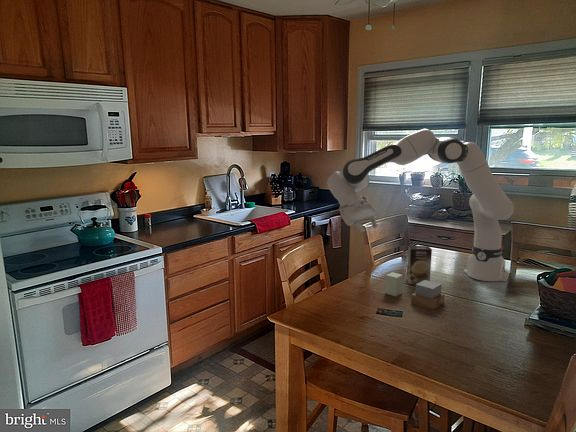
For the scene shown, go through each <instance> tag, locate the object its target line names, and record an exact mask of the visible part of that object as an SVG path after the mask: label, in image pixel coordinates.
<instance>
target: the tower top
mask: <svg viewBox="0 0 576 432" xmlns="http://www.w3.org/2000/svg"><path fill="white" fill-rule="evenodd" d="M414 291H415V292H414V293H415V294H417V295H420V296H424V297H427V298H431V299H433V298H435V297H436V296H438V295H440V294H441V293H442V284H441V283H438V282H435V281H431V280H430V281H427V280H424V281H422V282H420V283H418V284H415V290H414Z"/></svg>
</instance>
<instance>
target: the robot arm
mask: <svg viewBox="0 0 576 432" xmlns="http://www.w3.org/2000/svg"><path fill="white" fill-rule="evenodd" d="M426 155H427V156H429V158H430V159H431V160H433V161H436V162H438V163H442V164H457V165H458V167H459V169H460V172H461V175H462V176H463V180H464V182H465V184H466V185H467V188H468V189H469V190H470V191H471V193H472V195H471V196H470V197H469V199H468V200H469V201H468V203H469V207H470V209H471V212H472V218H473V226H474V236H473V237H474V238H473V245H472V248H471V250H472V251H471V253H472V254H470V255H469V256H468V258H467V259H468V260H467V266H466V268H465V269H464V270H463V273H464V274H466V275H467V276H468V277H469V278H472V279H474V280H478V281H484V282H507V281H508V279H509V276H510V274H511V270H510V269H507V268H506V259H504V258H503V256H502V254H503V249H504V246H501V245H502V237H503V235H502V234H503V231H502V228H501V227H500V222H499V221H504V220H507V219H509V218H511V216H512V215H513V213H514V211H515V205H514V203H513V202H512V200H511V199H510V198H509V197H508V195H506V193H505V192H504V190H503V189H502V187H501V186H500V184H499V183H498V181H497V180H496V179H495V177H494V175H493V172H492V170H491V168H490V165H489V163H488V161H487V159H486V156H485V155H484V153H483V151H482V150H481V148H480V146H479V145H478V144H477V143H476V142H473V141H468V142H462V141H461V140H459V139H458V138H455V137H449V136H443V137H441V136H439V137H437V136H436V135H435V133H434V132H433V131H432V130H430V129H428V128H423V129H419V130H417V131H414V132H412V133H410V134H408V135H406V136H404V137H403V138H401V139H399V140H398V141H395V142H394V143H392V144H389V145H387V146H385V147H383V148H381V149H378V150H376V151H374V152H372V153H370V154H368V155H366V156H364V157H361V158H360V157H359V158H353V159H350V160H348V161H347V162H346V163H345V164H344V166H343V168H342V171H338V170H337V171H334V172H332V173H331V174H330V176H328V178H327V181H326V184H327V188H328V190H329V191H330V193H331V195H333V197H334V198H335V199H336V200H337V201H338V203H339V205H340V206H339V208H338V211H339V213H340V217H341V218H342V220H343V222H344V223H345V224H346V225H347V226H348V227H351V226H354V228H357V229H358V230H359V231H360V232H361V233H363V232H365V231H366V227H365V226H364V225H362V223H365V222H368V221H369V222H370V223H371V226H372V228H373V229H376V228H378V227H379V225H378V223H377V220H376V218H377V217H378V215H379V214H378V211H377V209H376V208H375V207H374V206H373V204H372V203H371V202H370V200H369V198H368V197H367V196H364V195H360V194H358V193H359V192H361V191H363V190H364V189H366V188H367V187H368V186H369V183H370V176H369V175H370V174H369V173H371V172H372V171H373V170H376V169H377V168H380V167H381V166H383V165H385V164H388V163H395V164H396V165H398V166H399V165H400V166H406V165H408V164H411V163H413V162H415V161H416V160H419V159H420V158H422V157H424V156H426Z"/></svg>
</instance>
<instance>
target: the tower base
mask: <svg viewBox="0 0 576 432" xmlns="http://www.w3.org/2000/svg"><path fill="white" fill-rule="evenodd" d="M410 301H411V304H412V305H416V306H419V307H422V308H425V309H428V310H432V311H433V310H435V309H437V308H439V307H440V306H442V304H445V303H444V302H445V294H444V293H442V292H441V294H440V295H438V296H436V297H435V298H433V299H431V298H427V297H424V296H420V295H417V294H415V292H414V293H412V294H411V300H410Z"/></svg>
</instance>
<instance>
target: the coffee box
mask: <svg viewBox="0 0 576 432" xmlns="http://www.w3.org/2000/svg"><path fill="white" fill-rule="evenodd" d="M432 252H433V249H432V248H431V247H430V246H429V245H408V246H407V259H406V260H407V261H406V262H407V263H406V265H407V266H406V278H405V279H406V281H407V283H408V284H409V285H412V284H413V285H416V284H418V283H420V282H422V281H424V280H427V281H431V280H430V279H431V270H432V267H431V266H432Z"/></svg>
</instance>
